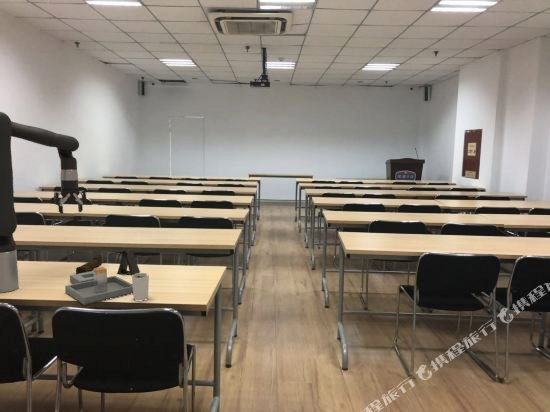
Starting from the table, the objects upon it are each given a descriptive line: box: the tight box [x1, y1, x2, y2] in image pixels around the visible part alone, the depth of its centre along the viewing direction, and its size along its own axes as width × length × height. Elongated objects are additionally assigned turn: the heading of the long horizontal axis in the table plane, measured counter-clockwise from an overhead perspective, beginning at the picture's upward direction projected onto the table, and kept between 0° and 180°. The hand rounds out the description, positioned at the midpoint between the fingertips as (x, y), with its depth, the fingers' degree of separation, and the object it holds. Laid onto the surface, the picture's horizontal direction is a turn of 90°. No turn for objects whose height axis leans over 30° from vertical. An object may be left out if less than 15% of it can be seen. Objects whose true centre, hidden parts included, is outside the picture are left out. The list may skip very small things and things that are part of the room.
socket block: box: [69, 270, 94, 284], centre depth 199 cm, size 12×12×3 cm
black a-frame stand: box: [116, 248, 141, 277], centre depth 213 cm, size 9×6×12 cm, turn 78°
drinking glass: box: [131, 272, 150, 301], centre depth 178 cm, size 7×7×10 cm
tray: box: [64, 275, 133, 306], centre depth 185 cm, size 22×20×3 cm
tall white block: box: [92, 266, 108, 293], centre depth 184 cm, size 4×4×10 cm
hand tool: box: [75, 254, 103, 274], centre depth 219 cm, size 23×5×6 cm, turn 174°
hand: (70, 212), depth 208 cm, fingers open, 8 cm apart
